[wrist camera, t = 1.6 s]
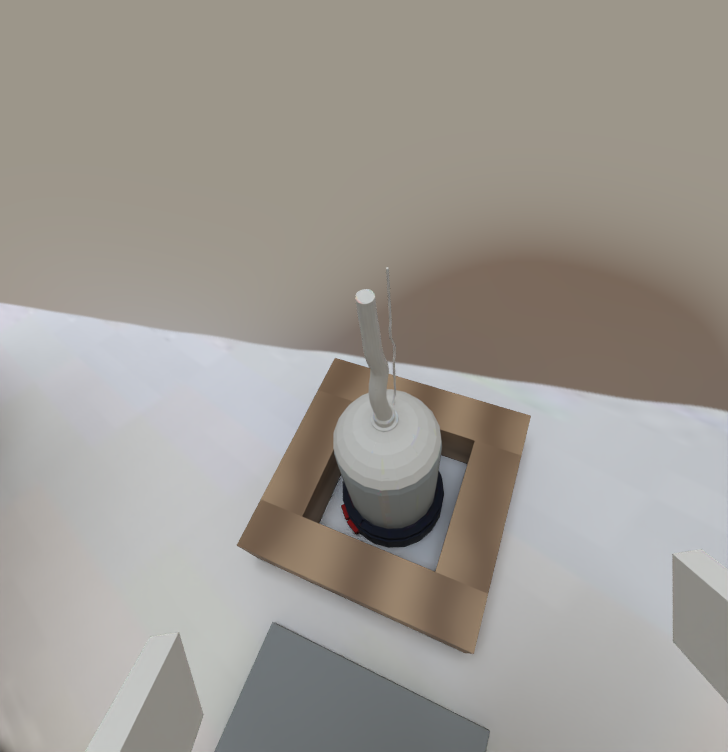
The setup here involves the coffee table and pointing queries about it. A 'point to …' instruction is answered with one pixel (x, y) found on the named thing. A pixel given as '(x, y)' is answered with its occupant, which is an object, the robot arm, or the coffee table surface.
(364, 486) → the humidifier
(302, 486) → the dock
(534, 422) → the coffee table surface
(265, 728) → the mat
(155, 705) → the robot arm
